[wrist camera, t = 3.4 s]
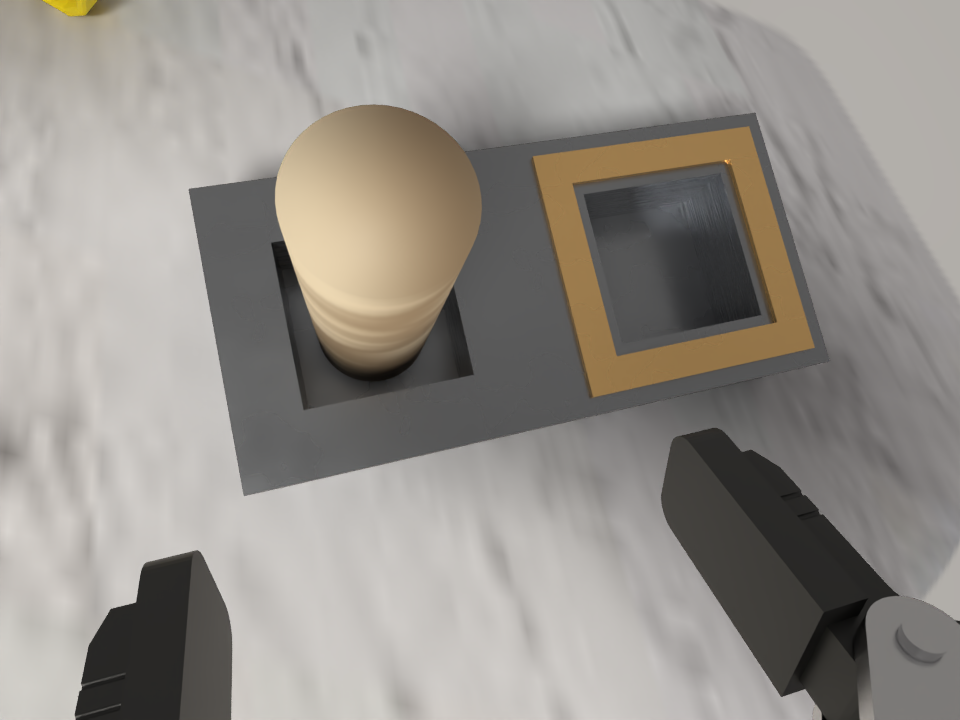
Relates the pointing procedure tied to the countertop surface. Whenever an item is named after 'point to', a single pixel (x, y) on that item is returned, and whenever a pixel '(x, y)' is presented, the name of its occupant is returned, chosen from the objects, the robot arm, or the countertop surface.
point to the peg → (376, 232)
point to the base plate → (524, 302)
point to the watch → (72, 6)
